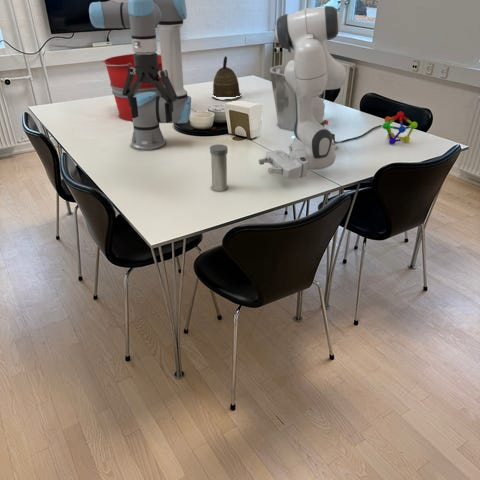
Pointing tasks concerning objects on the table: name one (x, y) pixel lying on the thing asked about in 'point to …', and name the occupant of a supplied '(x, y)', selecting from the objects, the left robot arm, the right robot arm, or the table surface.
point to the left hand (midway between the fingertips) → (152, 119)
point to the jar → (219, 172)
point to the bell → (225, 82)
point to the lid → (218, 150)
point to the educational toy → (398, 128)
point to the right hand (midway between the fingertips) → (264, 166)
